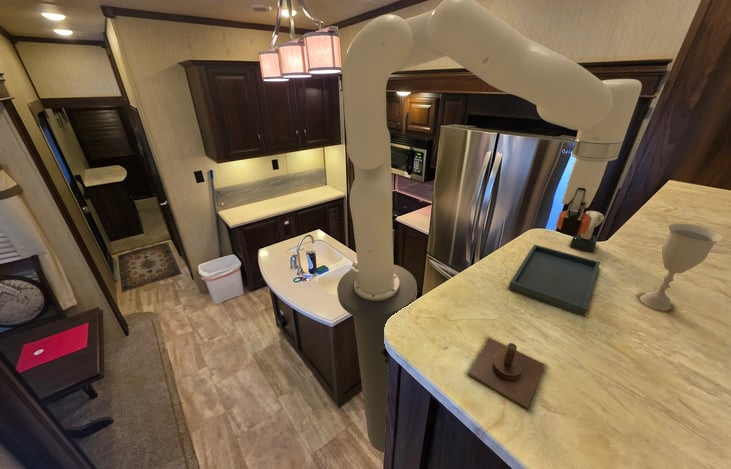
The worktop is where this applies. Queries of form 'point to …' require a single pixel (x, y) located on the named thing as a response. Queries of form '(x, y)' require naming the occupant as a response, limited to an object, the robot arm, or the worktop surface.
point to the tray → (557, 278)
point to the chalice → (680, 258)
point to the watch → (588, 233)
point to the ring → (583, 227)
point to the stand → (507, 371)
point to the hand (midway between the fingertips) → (571, 227)
